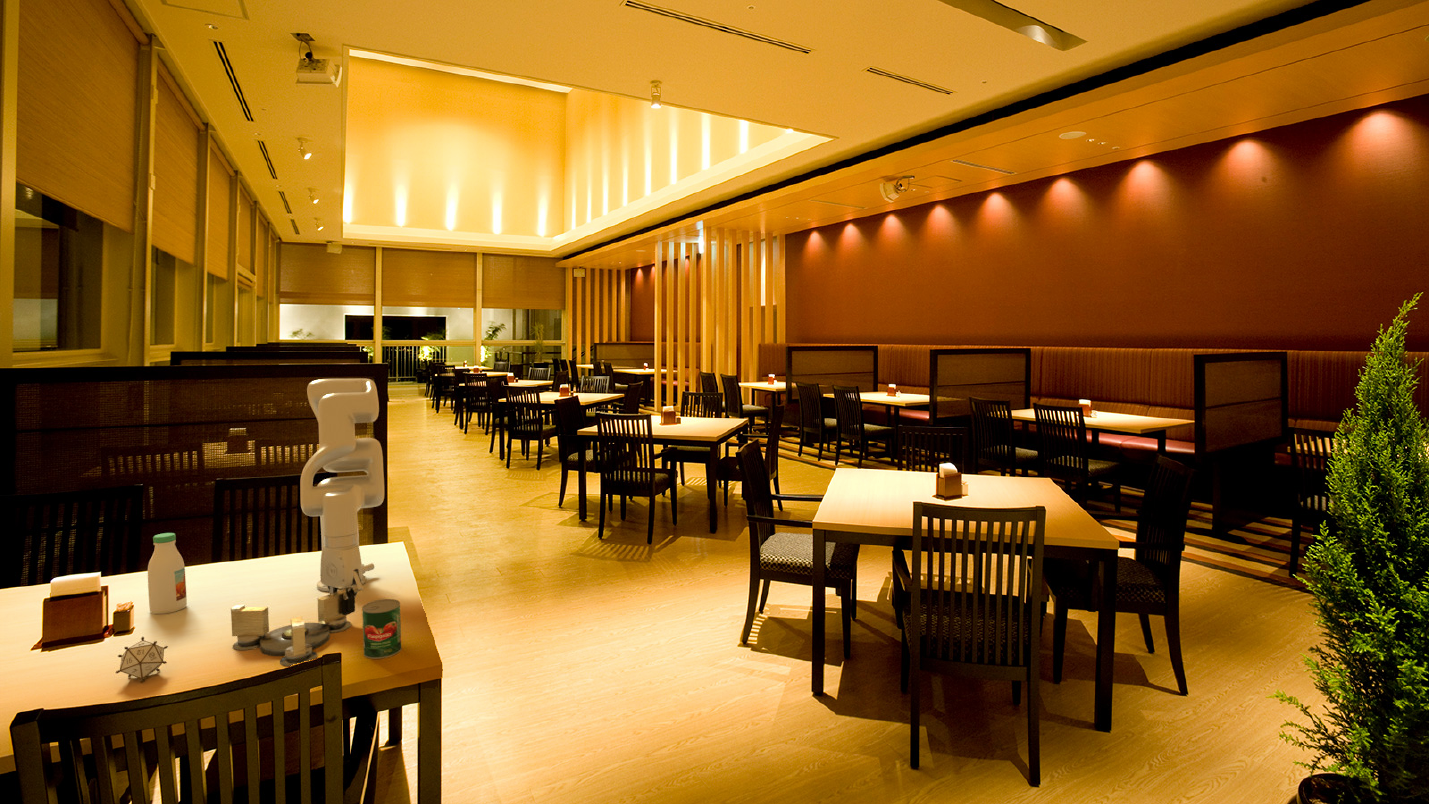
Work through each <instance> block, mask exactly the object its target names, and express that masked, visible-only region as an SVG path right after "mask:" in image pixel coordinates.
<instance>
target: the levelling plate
mask: <svg viewBox="0 0 1429 804" xmlns="http://www.w3.org/2000/svg"><path fill="white" fill-rule="evenodd" d="M304 626H305V627H304V629H305V644H310V645H312V656H311V657H309V658H307V659H305V660H302V661H296V662H288V661H286V660H285V650H286V649H287V648H289V647H291V646H292V639H291V624H288V625H285V626H281V627H278V628H276V629H273V630H271V631H269V632H268V633H267V634H265V635H264V636H263V637H262V638H261V639H260V643H258V644H255V645H251V646H239V645H238V641H236V642H235V643H233V644H232V649H233V650H235V651H249V650H254V649H258V648H259V651H260V652H261V653H262V654H263V655H267V656H270V657H282V658H281V659H280V661H279V664H280V665H281V666H284V667H292V666H291V665H293V664H297V663H301V662H304V661H309V660H312V659H314V660H316V659H317V658H318V653H317V652H316V651H313V650H315V649H317V648H320V647H322V646H324V645H325V644H326V643H328V642H329V641H330V634H335V633H341V632H344V631H346V630H348V629H350V628H351V626H352V623H351V621H348V620H347V624H346V625H345V626H343V627H341V628H337V629H329V627H328V626H327V625H325V624H323V623H319V622H304ZM315 658H316V659H315Z"/></svg>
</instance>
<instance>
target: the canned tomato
mask: <svg viewBox="0 0 1429 804" xmlns="http://www.w3.org/2000/svg"><path fill="white" fill-rule="evenodd" d="M361 610H362V613H361V617H362V633H363V634H362V637H363V639H362V640H363V642H362V643H363V656H364V657H365V658H367V659H370V660H381V659H387V658H390V657H393V656H395V655H397V654H398V653H400V652H401V651H402V649H403V648H402V631H401V630H402V627H401V626H402V625H401V624H402V623H401V622H402V620H401V602H400V601H399V600H397V599H392V598H384V599H383V598H382V599H376V600H373V601H370V602H367V603H365V604H363V606H362V607H361Z"/></svg>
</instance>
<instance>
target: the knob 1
mask: <svg viewBox="0 0 1429 804" xmlns="http://www.w3.org/2000/svg"><path fill="white" fill-rule="evenodd" d="M245 605H246V604H236V605H234V606H232V607H231V608H230V619H231V620H230V622H231V636H232V637H237V638H236V639H237V642H238V645H239V646H251V645H255V644H258V643H260V639H261V638H262V637H263V636H264V635H265V634H267V633H269V632H270V624H269V607H268V606H255V607H254V606H253V607H252V606H251V607H250V606H249V607H246V606H245Z"/></svg>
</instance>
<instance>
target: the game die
mask: <svg viewBox="0 0 1429 804" xmlns="http://www.w3.org/2000/svg"><path fill="white" fill-rule="evenodd" d="M140 639H141V640H140V641H139V642H137V643H135V644H133V645H131V646H130V647H129V646H124V650H125V651H124V653H123V654H118V655H117V657H118V658H120V665H119V669H118V670H116V671H115V674H119V673H124V674H125V675H126V674H127V675H128V676H127V677H128V679H129V678H131V677H134V678H137V679H140V683H143V682H144V681H145V680H144V679H145V678H146V677H147V676H149V675H151V674H152V673H153V672H161V671H160V666H161V665H162V664H164V665H166V664H167V663H168V662H167V660H166V661H165V660H164V656H165V655H164V653H165V650H166V649H168V647H169V646H168V645H165V646H164V647H162V646H160V645H158V644H157V643H158V642H157V640H156V641H153V643H152V642H149V641H147V640H145V637H144V636H141V638H140Z"/></svg>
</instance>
